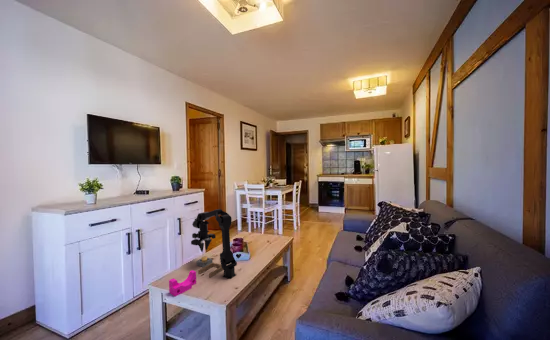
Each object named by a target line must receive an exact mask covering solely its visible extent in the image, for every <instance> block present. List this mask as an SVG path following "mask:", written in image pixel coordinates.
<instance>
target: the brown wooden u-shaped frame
mask: <svg viewBox="0 0 550 340" xmlns="http://www.w3.org/2000/svg"><path fill="white" fill-rule="evenodd" d="M213 267H214V268H216V269H214V270H213V271H211V272H209V274H208V278H210V279H211V278H212V277H214V276H216V275H217V274H219V273H220V272H222V271H224V270H223V269H222V267H221V263H216V262H213V263H211V264H209V265H207V266H205V267H201V268H200V269H198V271H197V272H198V273H197V274H198V275H201V274H202V273H205V272H206V271H208V270H210V269H211V268H213Z"/></svg>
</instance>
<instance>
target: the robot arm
mask: <svg viewBox="0 0 550 340" xmlns="http://www.w3.org/2000/svg"><path fill="white" fill-rule="evenodd" d="M213 217H215V220H216V222H218V223H217V224H218V227H219V228H220V229H221V241H222V243H221V244H222V252H221V253H219V261H220V264H221V267H222V269H223V270H222V271H223V276H222V278H223V279H228V280H231V279H232V278H234V277H235V276H237V274H236V272H235V271H236V270H235V267H236V266H237V265H238V263H237V260H236V259H235V257H234V253H233V251H231V239H230V238H231V237H230V234H231V233H230V228H231V226H232V221H233V220H232V219H233V218H232V216H231V215H230V214H229V213H228V212H226V211H224V210H223V209H222V208H217V209H214V210H211V211H204V212H199V213H197V216H196V218H194V221H192V227H193V228H195V229H199V230H198V231H197V233H196V232H193V233H192V234H191V236H192V237H191V238H192V240H191V241H190V244H191V245H193V246H198V247H199V250H200V252H201V253H203V251H204V248H205V251H206V250H208V249H209V246H210V244H211V243H212V241H213V239H216V234H215V233H211V232H210V230H208V229H209V228H208V225H210V222H209V221H208V220H209V219H210V218H213ZM209 232H210V233H209ZM204 246H205V247H204Z"/></svg>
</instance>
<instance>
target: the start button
mask: <svg viewBox="0 0 550 340" xmlns="http://www.w3.org/2000/svg"><path fill="white" fill-rule="evenodd" d="M201 258H202V261H203V262H205V261H207V258H208V256H202V257H201Z"/></svg>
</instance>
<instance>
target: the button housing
mask: <svg viewBox="0 0 550 340" xmlns="http://www.w3.org/2000/svg"><path fill="white" fill-rule="evenodd" d="M195 262H196V266H198V267H201V268H204V267H205V266H207V265H209V264H211V263H214V262H213V258H211V257H207V261H205V262H203V261H202V257H201V258H200V259H198V260H196V261H195Z"/></svg>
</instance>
